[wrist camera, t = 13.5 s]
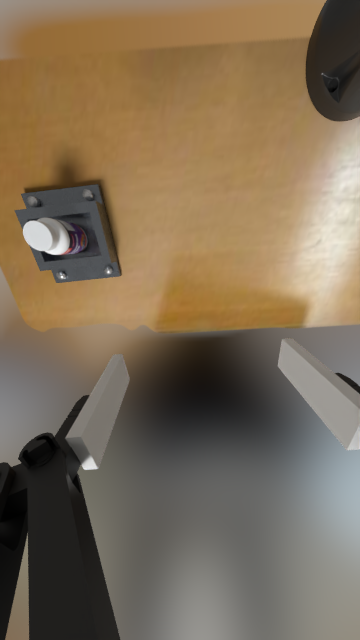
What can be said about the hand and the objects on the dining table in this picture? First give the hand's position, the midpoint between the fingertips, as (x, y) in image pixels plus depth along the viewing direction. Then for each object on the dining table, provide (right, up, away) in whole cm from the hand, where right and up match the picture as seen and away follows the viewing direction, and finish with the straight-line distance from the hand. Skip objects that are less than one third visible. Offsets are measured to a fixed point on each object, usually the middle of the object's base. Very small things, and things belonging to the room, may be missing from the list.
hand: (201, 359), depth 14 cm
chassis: (-22, +20, +20) cm, 36 cm away
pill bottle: (-23, +19, +19) cm, 35 cm away
